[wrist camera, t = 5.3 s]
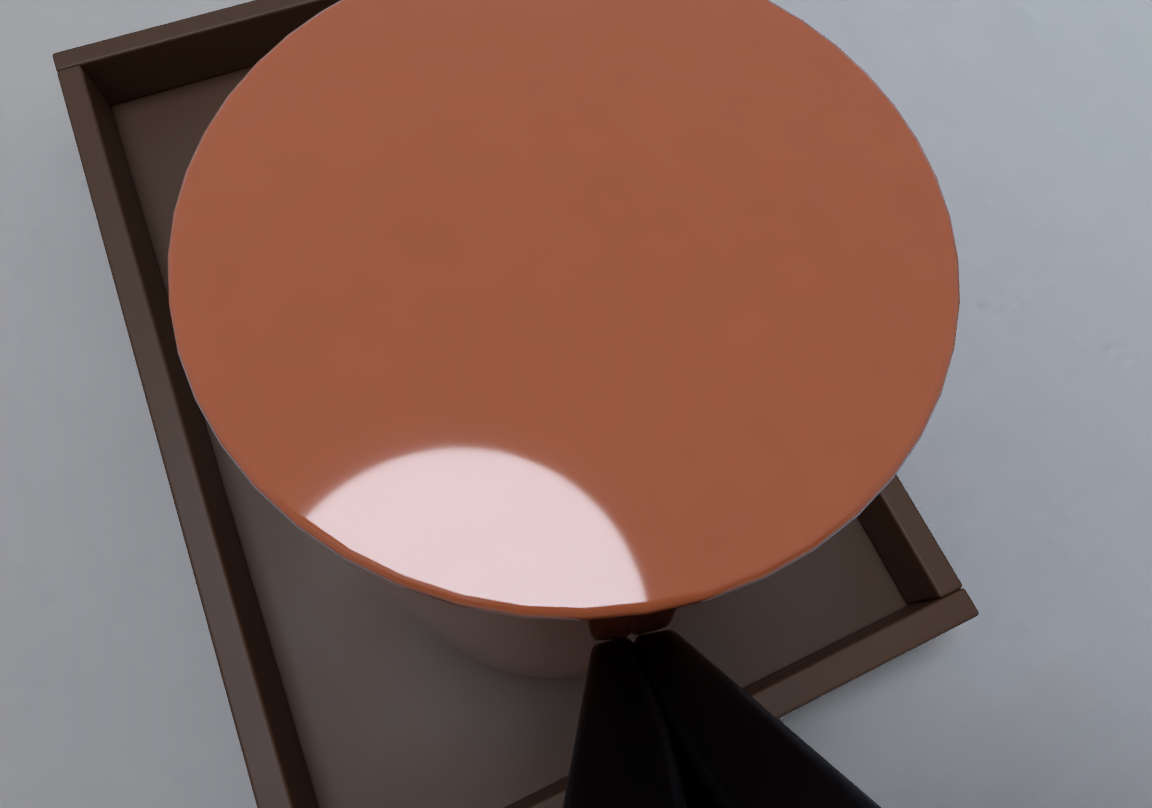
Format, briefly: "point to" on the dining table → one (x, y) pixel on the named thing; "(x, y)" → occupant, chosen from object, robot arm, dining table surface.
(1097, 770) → the dining table surface
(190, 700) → the dining table surface
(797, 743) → the robot arm
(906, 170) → the orange canister
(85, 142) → the walnut tray
